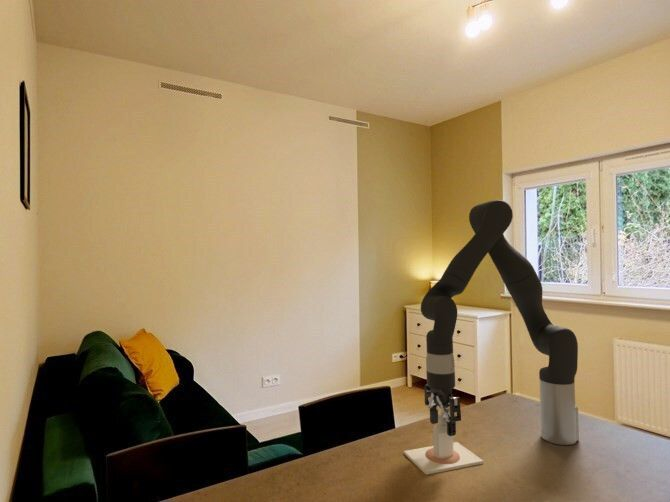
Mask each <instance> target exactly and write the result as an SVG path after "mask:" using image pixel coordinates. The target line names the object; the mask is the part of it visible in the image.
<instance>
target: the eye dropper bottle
mask: <svg viewBox="0 0 670 502" xmlns="http://www.w3.org/2000/svg"><path fill="white" fill-rule="evenodd" d="M453 442H454V436H449V435H447V419H446V416H445V414H444V413H442V410H441V411H440V414H438V423H436V424H435V425H434V427H433V429H432V446H433V455H434V456H435V457H436V458H438V459H445V458H449V457H451V456H452V455H453V453H454V450H453Z"/></svg>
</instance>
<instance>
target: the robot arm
mask: <svg viewBox="0 0 670 502" xmlns="http://www.w3.org/2000/svg"><path fill="white" fill-rule="evenodd" d="M513 217H514V213H513V209H512V206H510V204H509V203H508V202H507V201H505V200H501V199H494V200H490V201H487V202H482V203H479V204H477V205H474V206H473V207H472V208H471V209H470V211H469V214H468V219H469V224H470V227H471V229H472V231H473V232H474V235H473V236H472V237H471V238H470V239H469V241H468V242H467V243H466V244H465V245H464V246H463V247H462V248H461V249H459V251H458V252H457V253H456V254H455V255H454V257H453V258H452V259H451V261H449V264H448V265H447V267H446V269H445V271H444V272H443V274H442V275H441V278H439V280H438V281H437V282H436V283H435V284H434V285H433V286H432V287H430V289H429V291H427V292H426V294H425V295H424V296H423V298H422V300H421V303H420V312H421V315H422V316H423V317H424V318H425V319H427V320H430V321H434V322H433V328H432V329H430V330H429V331H428V332H427V333H426V338H425V340H426V358H425V366H426V367H425V368H426V369H425V370H426V372H425V373H426V384H424V405H425V406H427V407H428V410H429V418H430V419H429V421H430V424H432V425H437V424H438V415H439V410H438V408H440V409H441V410H442V413H444V414H445V416H446V419H447V435H449V436H453V437H454V436H456V434H457V429H456V428H457V424H456V423H457V422H459V421H462V411H461V400H460V397H459V396H453V393H452V392H453V389H455V387H456V364H455V356H454V343H453V342H454V340H453V339H454V335H455V334H454V333H455V329H456V325H457V320H458V308H457V304H456V302H455V301H454V299H452V298H453V297H455V296H458V295H462V293H463V292H464V291H465V290H466V288H467V286H468V284H469V283H470V281H471V279H472V277H473V275H474V273H475V272H476V270H477V269H478V267H479V266H480V264H481V263H482V261H484V259H485V257H486V256H487V254H488V255H489V257H490V259H491V261H492V262H493V265H494V266H495V268H496V269H497V271H498V273H499V275H500V277H501V279H502V282H503V284H504V285H505V287H506V290H507V291H508V293H509V294H510V296H511V299H512V301H513V302H514V303H515V306H516V308H517V310H518V312H519V314H520V316H521V317H522V319H523V322H524V324H525V327H526V329H527V332H528V334H529V337H530V339H531V342H532V344H533V346H534V348H535V349H536V350H537V351H538V352H540V353H541V354H543V355H545V356H548V366H543V367H542V368H540V369H539V373H538V374H539V376H538V377H539V378H538V379H539V402H540V403H539V407H540V409H539V411H540V436H541V438H542V439H543V440H545V441H546V442H549V443H551V444H556V445H559V446H560V445H562V446H570V445H574V444H576V443H577V441H580V428H579V427H580V425H579V408H578V406H576V389H575V387H576V386H575V381H576V379H575V377H576V375H577V373H578V372H577V371H578V355H579V354H578V353H579V346H578V345H579V344H578V339H577V336H576V334H575V332H574V331H572V330H571V329H569V328H567V327H564V326H558V325H554V324H553V323H552V322H551V320H550V319H549V317H548V315H547V313H546V311H545V309H544V306H543V285H542V282H541V280H540V278H539V276H538V274H537V272H536V270H535V268H534V266H533V265H532V263H531V262H530V261H529V260H528V259H527V258H526V256H524V255H523V254H522V253H520V252H519V251H518V250H517V249H516V248H514V246H513V245H512V244H510V242H509V241H508V240H507V239H506V237H505V236H504V233H505V232H506V231H507V230H508V228H509V227H510V225H511V223H512V221H513Z"/></svg>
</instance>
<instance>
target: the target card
mask: <svg viewBox="0 0 670 502" xmlns="http://www.w3.org/2000/svg"><path fill="white" fill-rule="evenodd" d="M453 450H454V453H453V455H452V456H451V457H449V458H445V459H438V458H436V457H435V456H434V455H433V445H431V446H425V447H419V448H414V449H407V450H403V453H404V455H405V456H406V457H407V458H408V459H409V460H410V461H411V462H412V463H413V464H414V465H415V466H416V467H418V469H419V470H420V471H421V472H422V473H424V475H426V476H427V475H432V474H436V473H442V472H446V471H447V472H448V471H452V470H457V469H461V468H467V467H472V466H478V465H483V464H484V460H483V459H482V458H480V457H478V456H477V455H476V454H475V453H473V451H470V450H469V449H468V448H466V447H465V446H464V445H462V444H461V443H459V442H458V441H453Z"/></svg>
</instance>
